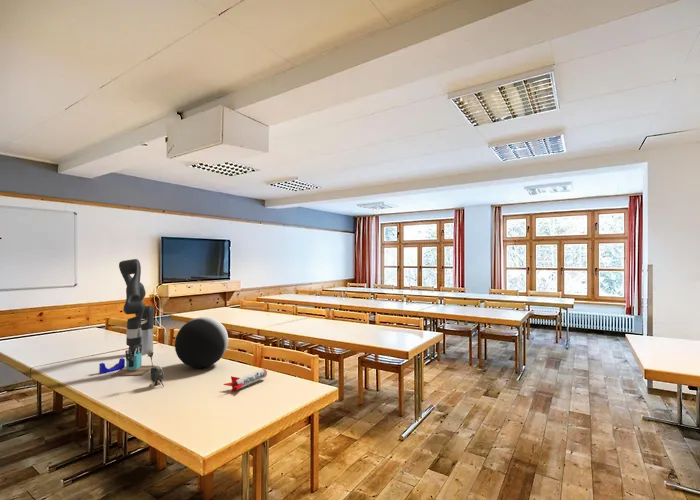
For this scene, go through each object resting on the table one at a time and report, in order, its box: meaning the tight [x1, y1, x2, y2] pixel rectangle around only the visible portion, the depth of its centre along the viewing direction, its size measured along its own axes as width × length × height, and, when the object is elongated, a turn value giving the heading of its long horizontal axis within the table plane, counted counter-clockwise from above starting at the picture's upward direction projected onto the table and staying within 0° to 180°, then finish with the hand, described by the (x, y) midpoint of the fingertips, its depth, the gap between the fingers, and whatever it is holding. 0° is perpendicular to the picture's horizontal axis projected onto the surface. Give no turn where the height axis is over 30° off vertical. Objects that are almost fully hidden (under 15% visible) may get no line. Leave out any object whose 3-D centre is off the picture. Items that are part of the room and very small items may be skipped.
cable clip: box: [98, 357, 126, 375], centre depth 202 cm, size 12×4×6 cm, turn 148°
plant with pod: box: [146, 350, 165, 387], centre depth 177 cm, size 8×11×20 cm
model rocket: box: [223, 368, 268, 393], centre depth 177 cm, size 11×23×10 cm, turn 149°
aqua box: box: [125, 353, 143, 369], centre depth 200 cm, size 6×6×8 cm
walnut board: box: [110, 364, 156, 378], centre depth 200 cm, size 16×16×1 cm
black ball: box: [174, 316, 229, 369], centre depth 211 cm, size 30×30×30 cm
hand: (133, 365), depth 200 cm, fingers closed on aqua box, 5 cm apart
